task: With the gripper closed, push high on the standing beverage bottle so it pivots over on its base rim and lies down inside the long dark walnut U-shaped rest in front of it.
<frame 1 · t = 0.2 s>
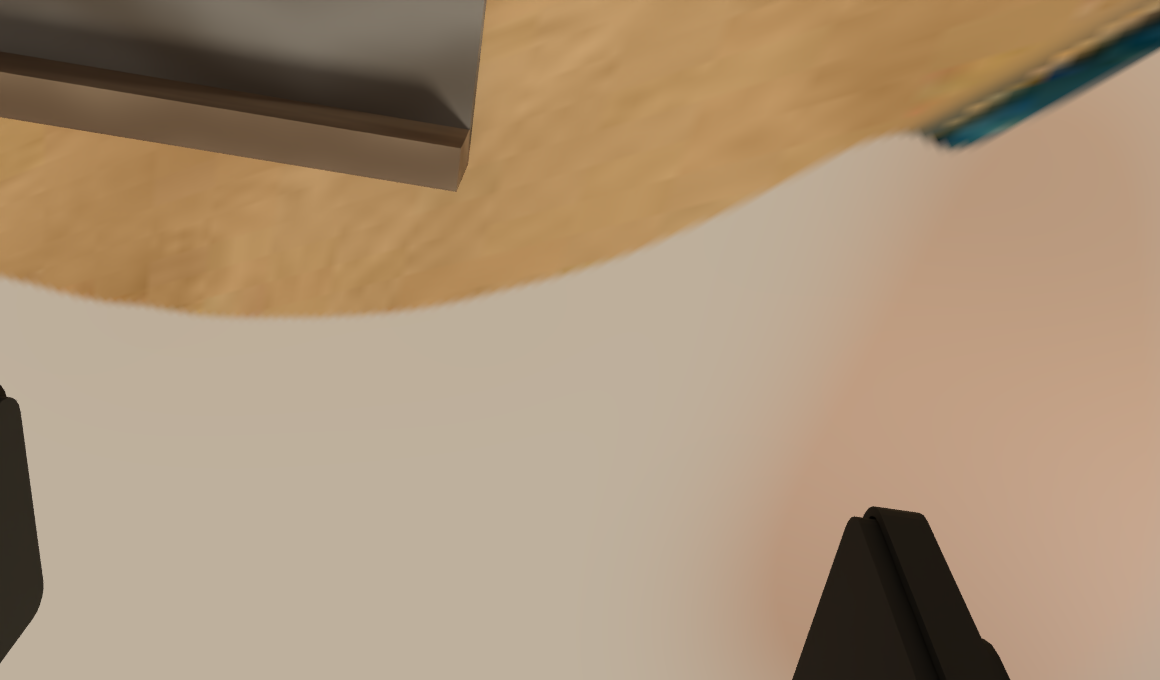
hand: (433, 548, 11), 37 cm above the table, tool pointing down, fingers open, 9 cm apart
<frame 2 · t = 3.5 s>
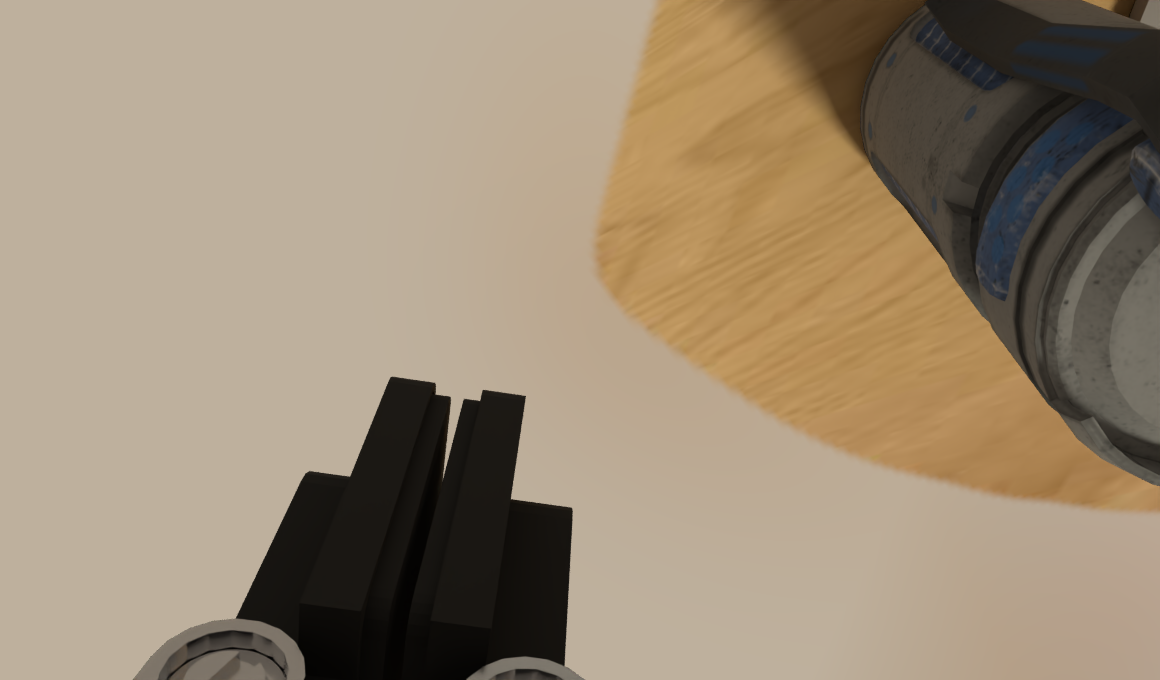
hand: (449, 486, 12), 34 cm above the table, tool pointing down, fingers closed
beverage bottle: (960, 79, 43), on the table
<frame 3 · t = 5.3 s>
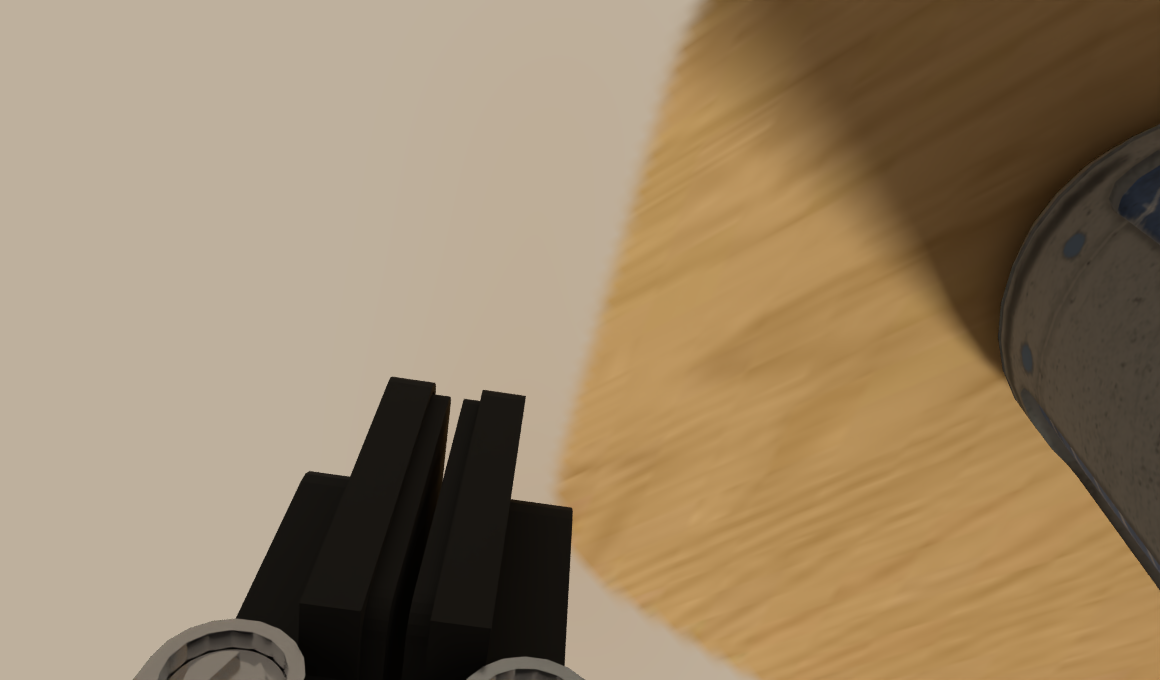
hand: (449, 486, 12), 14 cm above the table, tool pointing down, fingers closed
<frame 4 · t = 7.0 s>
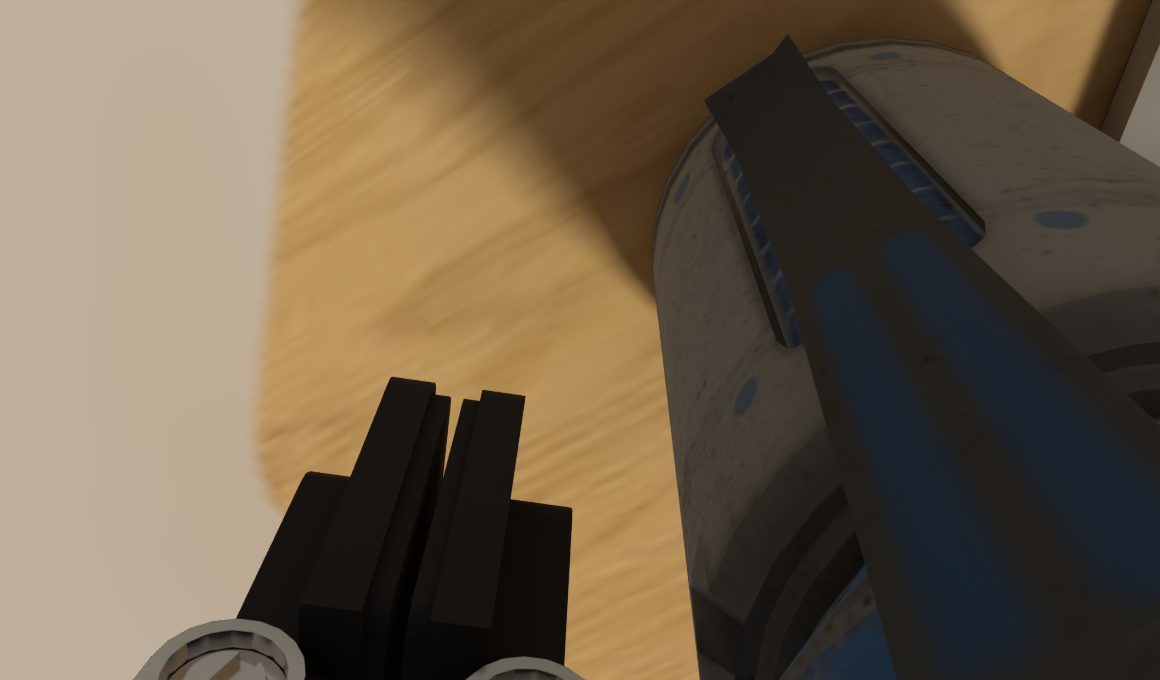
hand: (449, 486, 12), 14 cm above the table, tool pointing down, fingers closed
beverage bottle: (828, 201, 25), on the table, touching gripper
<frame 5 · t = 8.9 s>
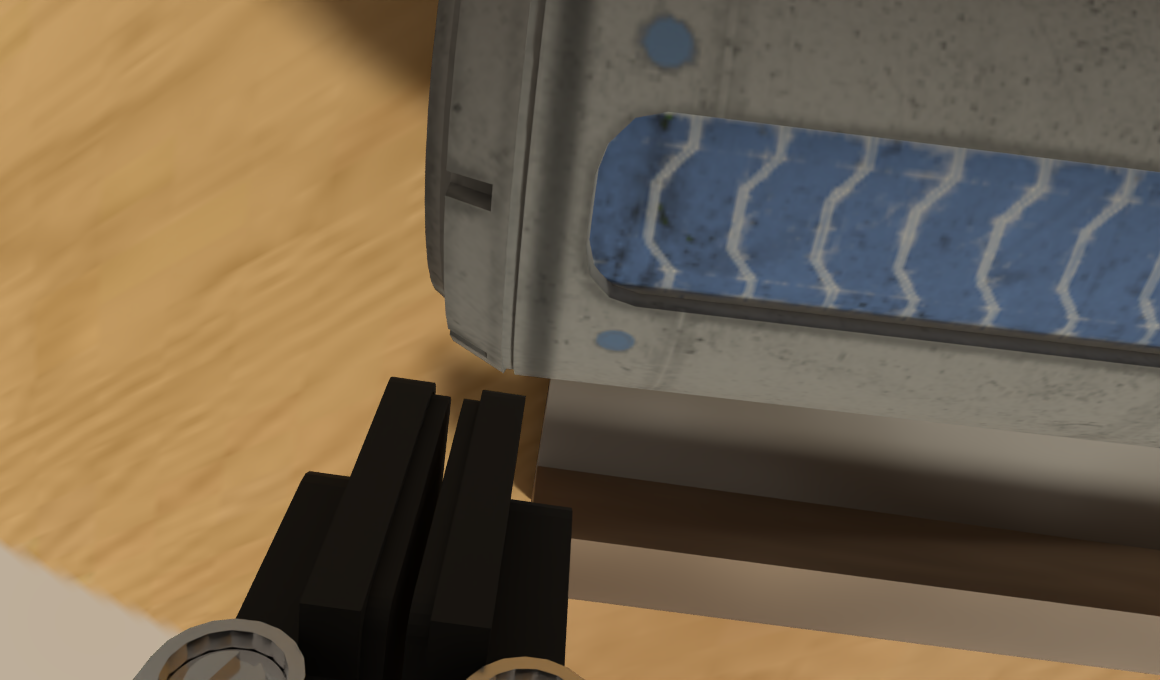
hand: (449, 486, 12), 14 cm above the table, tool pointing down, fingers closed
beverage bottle: (451, 38, 17), point 6 cm above the table, touching u rest
u rest: (1004, 231, 25), on the table
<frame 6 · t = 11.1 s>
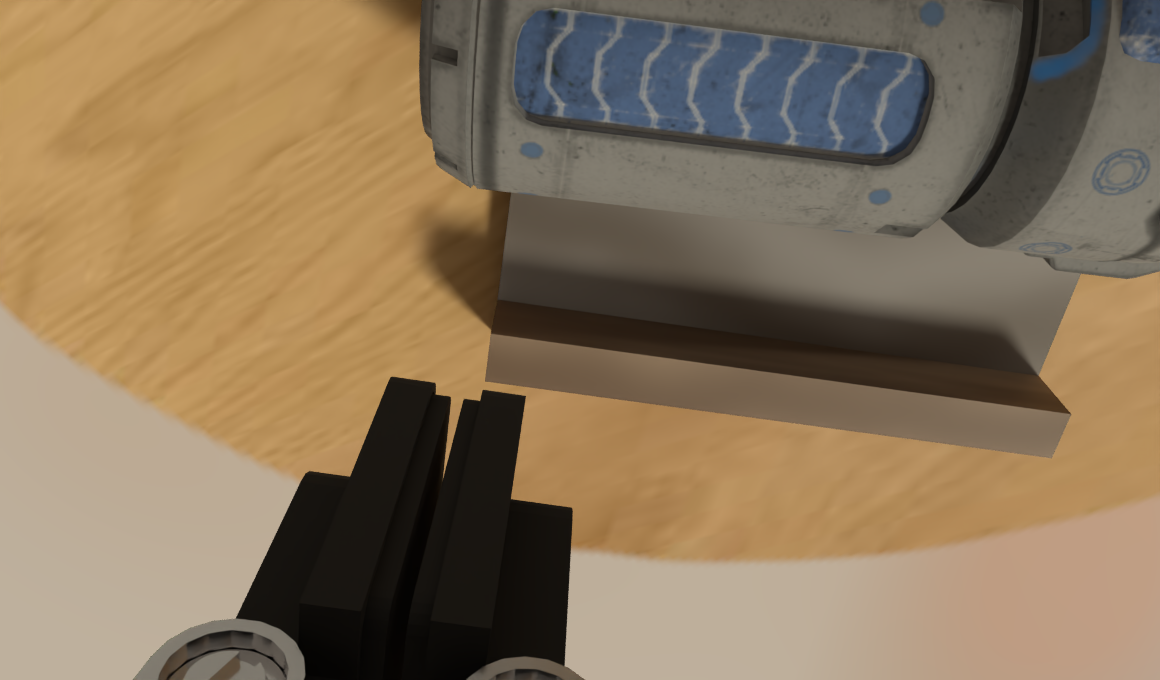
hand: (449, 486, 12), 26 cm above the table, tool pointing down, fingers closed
u rest: (823, 122, 36), on the table
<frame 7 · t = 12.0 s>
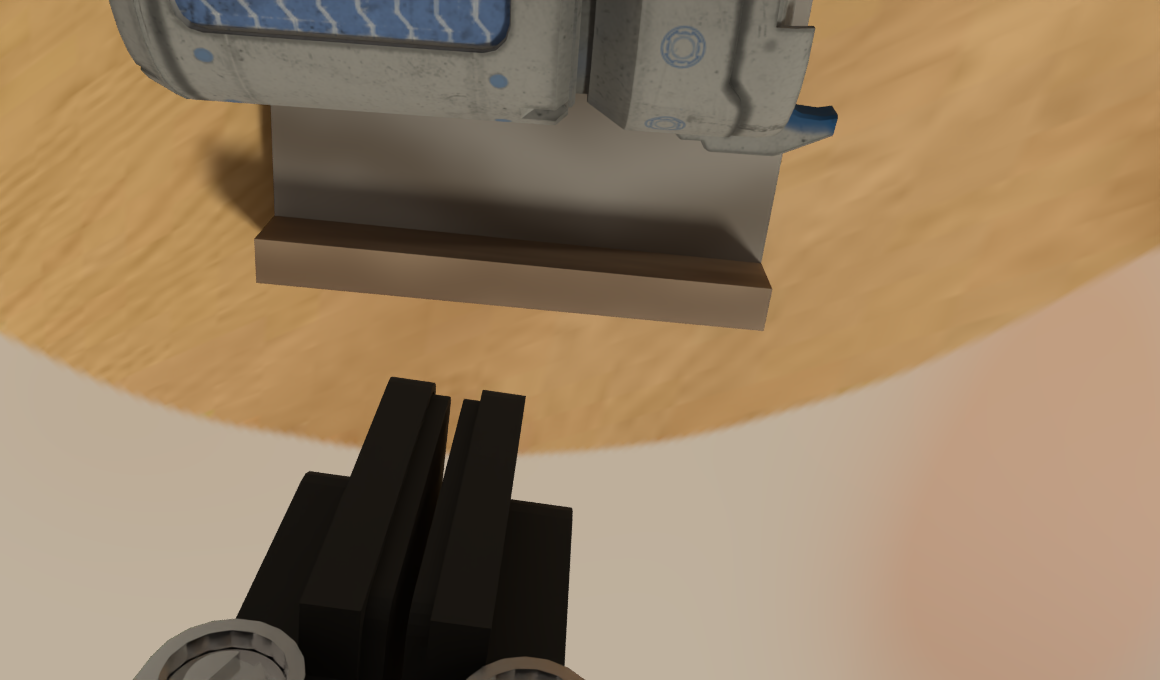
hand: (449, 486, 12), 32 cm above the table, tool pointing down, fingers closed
u rest: (536, 42, 41), on the table
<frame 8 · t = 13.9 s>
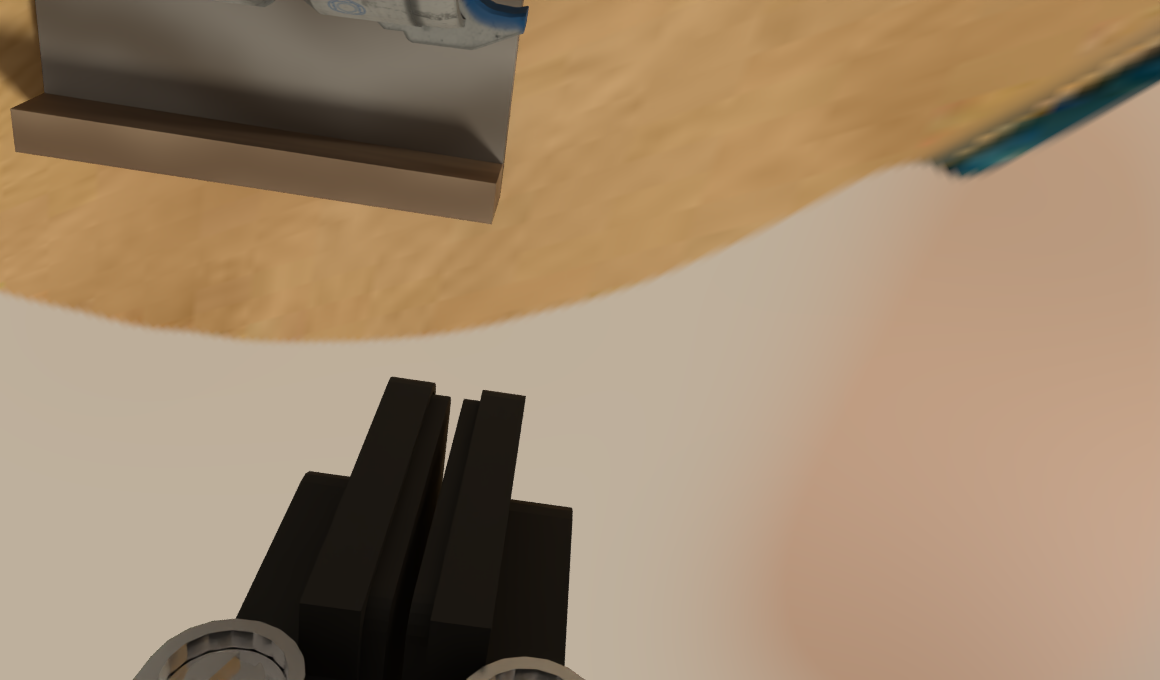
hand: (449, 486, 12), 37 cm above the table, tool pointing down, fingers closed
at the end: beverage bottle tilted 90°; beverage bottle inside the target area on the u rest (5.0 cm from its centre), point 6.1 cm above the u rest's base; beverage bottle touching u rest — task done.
